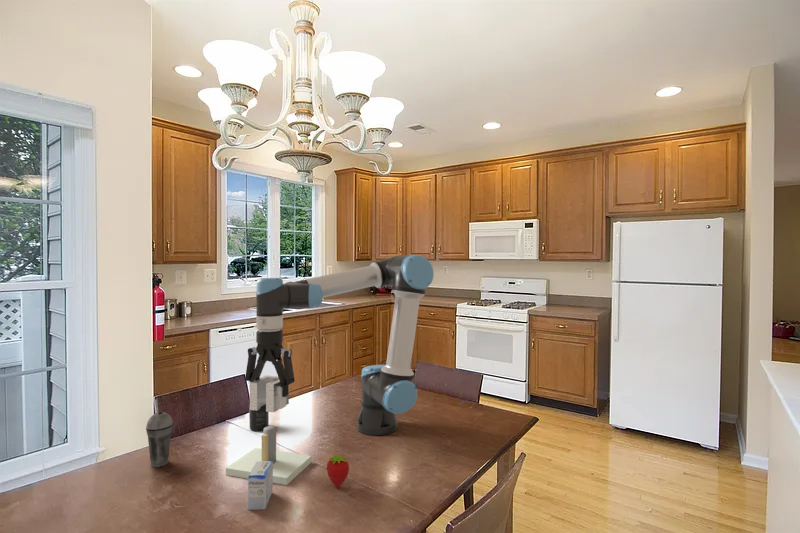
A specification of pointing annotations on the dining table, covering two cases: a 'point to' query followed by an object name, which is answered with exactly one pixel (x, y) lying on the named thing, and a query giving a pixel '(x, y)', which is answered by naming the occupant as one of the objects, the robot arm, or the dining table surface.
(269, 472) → the medicine box
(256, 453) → the shaft stand
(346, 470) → the strawberry
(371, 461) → the dining table surface
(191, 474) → the dining table surface
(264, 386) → the keyed collar
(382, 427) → the robot arm
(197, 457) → the dining table surface
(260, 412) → the supplement bottle
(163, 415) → the beverage cup
